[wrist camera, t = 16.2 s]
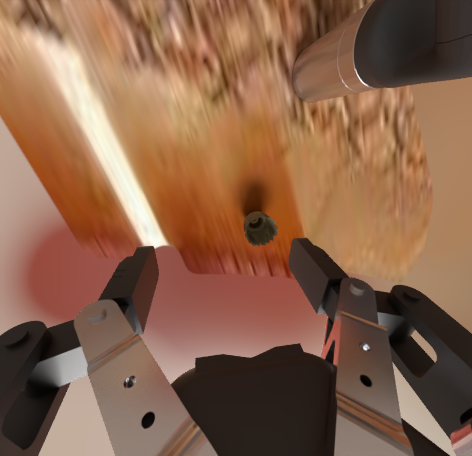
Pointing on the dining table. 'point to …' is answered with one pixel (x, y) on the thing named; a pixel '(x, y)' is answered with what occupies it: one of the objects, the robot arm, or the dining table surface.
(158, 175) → the dining table surface
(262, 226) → the cup
